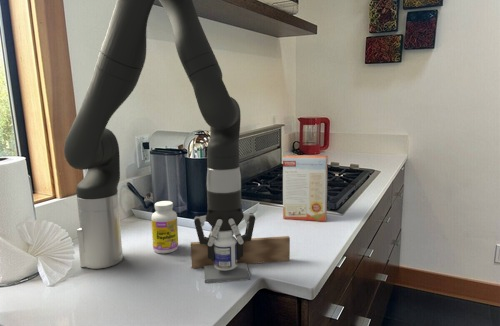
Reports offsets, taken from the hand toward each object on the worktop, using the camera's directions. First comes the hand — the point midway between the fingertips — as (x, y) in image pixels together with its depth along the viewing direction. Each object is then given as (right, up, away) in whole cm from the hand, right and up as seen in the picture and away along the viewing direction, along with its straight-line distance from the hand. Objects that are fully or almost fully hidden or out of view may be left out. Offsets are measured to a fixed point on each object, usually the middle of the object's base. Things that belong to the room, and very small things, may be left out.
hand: (225, 258), depth 86 cm
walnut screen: (+3, -3, +6) cm, 7 cm away
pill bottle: (0, -2, 0) cm, 2 cm away
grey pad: (0, -4, +1) cm, 4 cm away
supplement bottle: (-17, -1, +15) cm, 23 cm away
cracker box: (+24, +3, +40) cm, 46 cm away
